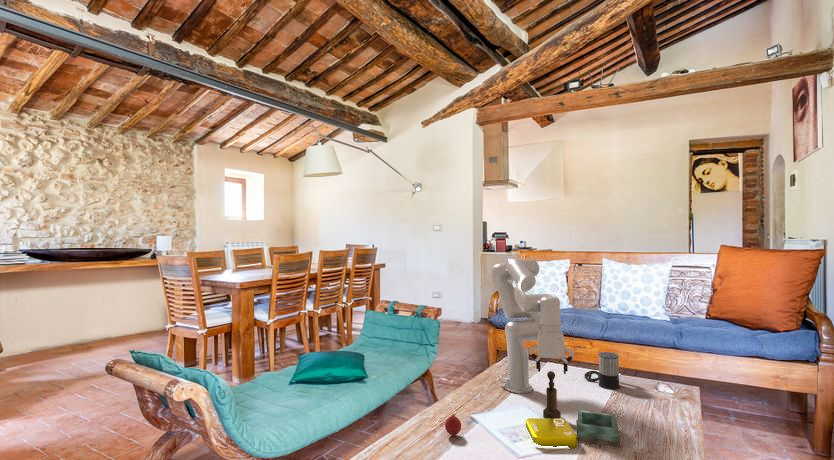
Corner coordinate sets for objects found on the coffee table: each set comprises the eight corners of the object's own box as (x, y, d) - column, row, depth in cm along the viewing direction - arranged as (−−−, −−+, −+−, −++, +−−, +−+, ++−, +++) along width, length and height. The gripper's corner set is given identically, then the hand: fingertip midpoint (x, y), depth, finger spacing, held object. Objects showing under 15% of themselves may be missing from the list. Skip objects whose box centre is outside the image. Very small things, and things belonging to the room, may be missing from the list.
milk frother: (620, 391, 191) (619, 358, 191) (582, 386, 198) (582, 354, 198) (619, 380, 204) (619, 350, 204) (584, 376, 211) (584, 346, 211)
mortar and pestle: (558, 413, 169) (557, 369, 169) (562, 421, 162) (561, 374, 162) (541, 413, 170) (541, 368, 170) (545, 420, 163) (544, 374, 163)
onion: (456, 441, 148) (456, 418, 148) (442, 437, 151) (442, 415, 151) (464, 434, 153) (463, 412, 153) (449, 430, 156) (449, 409, 156)
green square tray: (576, 441, 147) (576, 425, 147) (576, 423, 160) (576, 409, 160) (621, 447, 142) (620, 431, 142) (616, 429, 155) (616, 414, 155)
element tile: (524, 429, 157) (524, 416, 157) (565, 429, 157) (564, 416, 157) (534, 450, 142) (534, 436, 142) (579, 450, 142) (579, 436, 142)
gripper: (527, 329, 165) (528, 372, 165) (574, 331, 159) (575, 376, 159) (529, 325, 172) (530, 367, 172) (574, 327, 166) (575, 371, 166)
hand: (551, 371), depth 165 cm, fingers open, 9 cm apart
